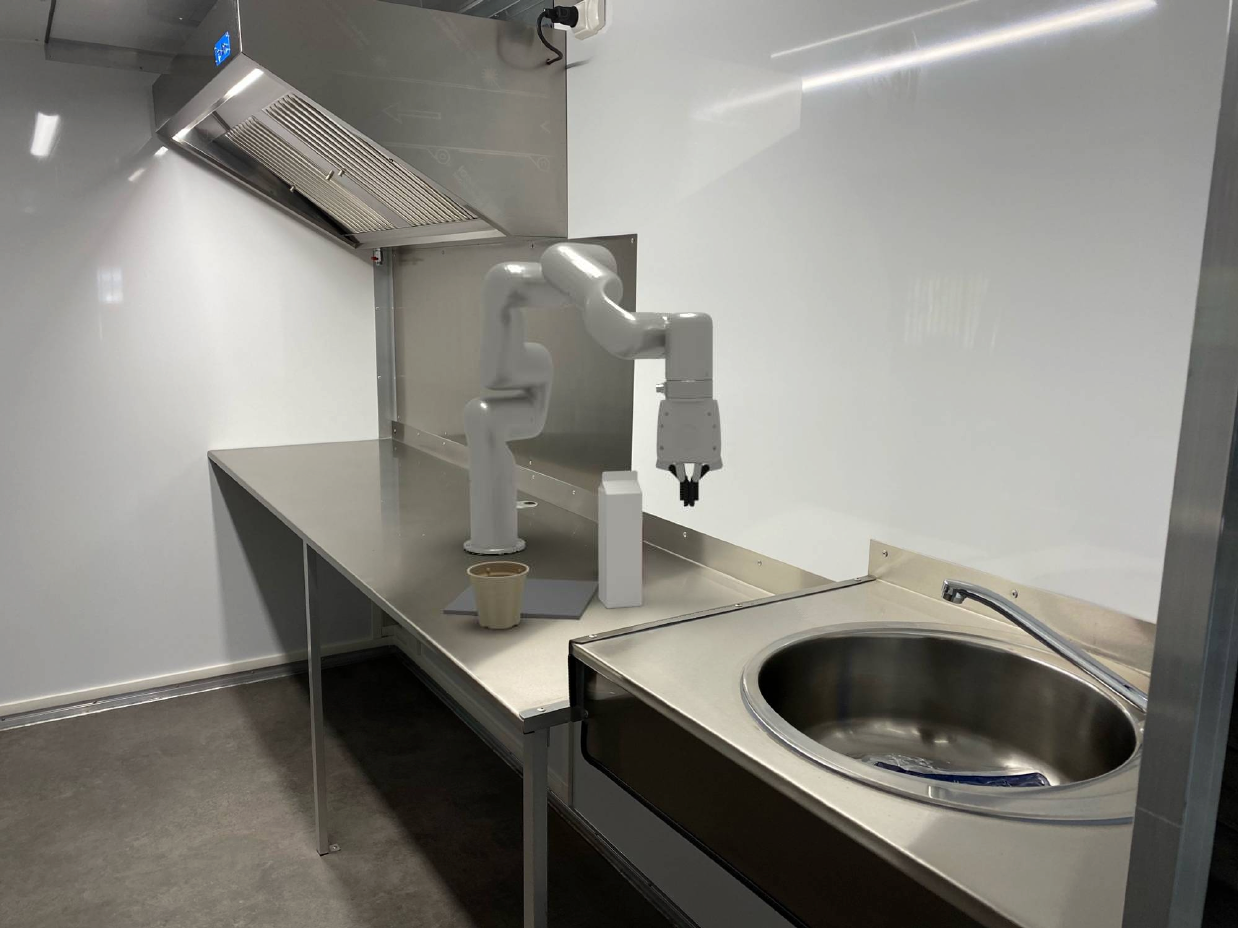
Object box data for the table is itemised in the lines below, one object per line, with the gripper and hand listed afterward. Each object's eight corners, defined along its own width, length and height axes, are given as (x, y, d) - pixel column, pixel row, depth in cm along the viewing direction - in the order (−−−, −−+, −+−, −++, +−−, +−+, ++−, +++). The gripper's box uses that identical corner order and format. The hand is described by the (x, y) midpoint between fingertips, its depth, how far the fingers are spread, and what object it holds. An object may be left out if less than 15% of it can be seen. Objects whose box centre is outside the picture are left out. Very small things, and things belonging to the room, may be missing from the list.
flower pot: (486, 637, 136) (485, 580, 135) (457, 621, 143) (456, 567, 142) (541, 625, 141) (540, 570, 140) (510, 610, 149) (509, 558, 148)
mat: (479, 580, 167) (479, 576, 167) (600, 584, 164) (600, 581, 164) (443, 613, 147) (443, 609, 147) (579, 619, 144) (579, 615, 144)
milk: (598, 598, 155) (597, 469, 152) (633, 596, 157) (632, 467, 154) (607, 609, 150) (605, 474, 147) (643, 606, 151) (642, 472, 148)
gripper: (639, 392, 144) (640, 508, 146) (736, 392, 142) (735, 510, 144) (644, 390, 151) (645, 500, 154) (736, 389, 149) (736, 501, 152)
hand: (689, 505), depth 149 cm, fingers closed
